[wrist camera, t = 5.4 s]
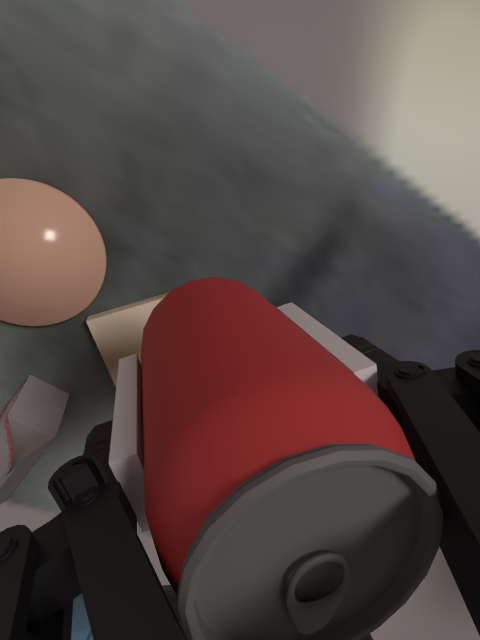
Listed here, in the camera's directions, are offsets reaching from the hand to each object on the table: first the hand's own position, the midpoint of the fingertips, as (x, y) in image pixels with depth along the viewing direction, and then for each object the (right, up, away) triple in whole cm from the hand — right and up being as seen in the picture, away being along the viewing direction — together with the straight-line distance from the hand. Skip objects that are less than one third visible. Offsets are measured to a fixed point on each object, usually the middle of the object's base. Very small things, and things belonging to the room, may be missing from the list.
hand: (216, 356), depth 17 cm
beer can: (-1, +1, +1) cm, 2 cm away
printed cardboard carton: (-18, -7, +16) cm, 25 cm away
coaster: (-15, +7, +11) cm, 20 cm away
